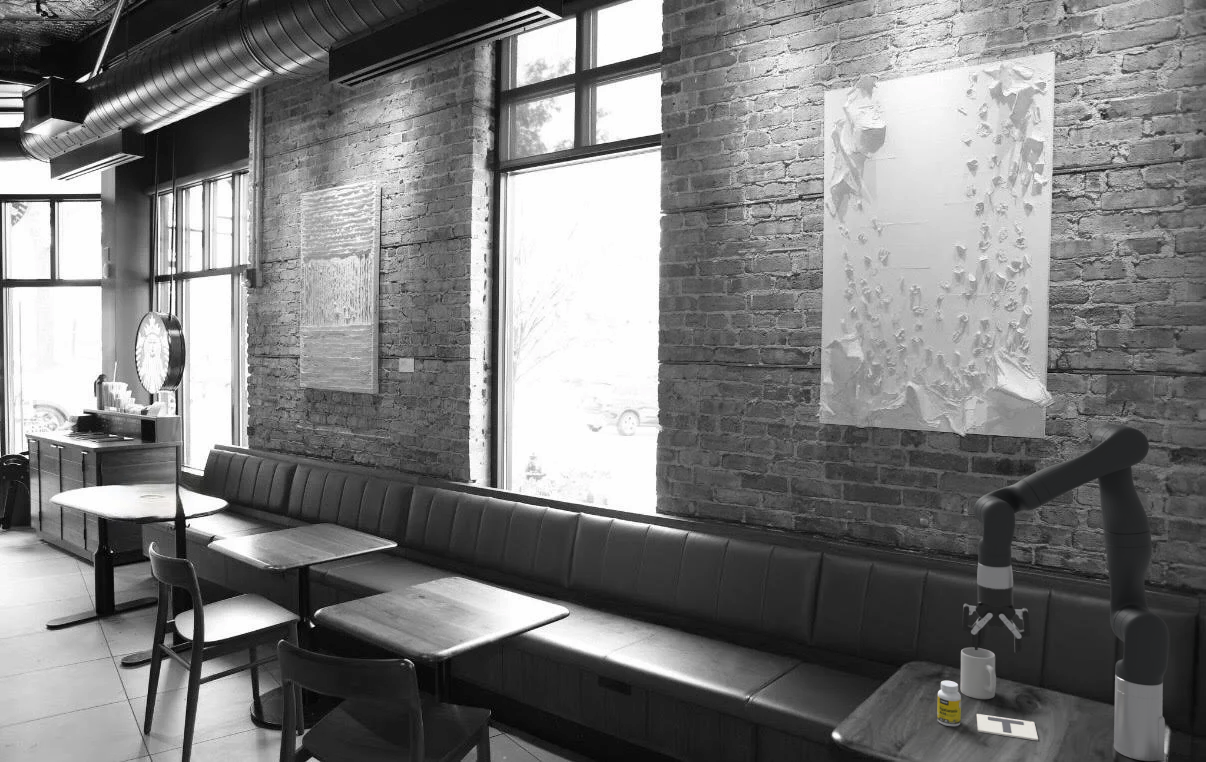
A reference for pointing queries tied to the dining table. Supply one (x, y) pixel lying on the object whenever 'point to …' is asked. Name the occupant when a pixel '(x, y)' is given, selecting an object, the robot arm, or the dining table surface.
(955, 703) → the supplement bottle
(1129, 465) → the robot arm
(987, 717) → the letter card
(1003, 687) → the dining table surface
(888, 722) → the dining table surface
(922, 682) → the dining table surface
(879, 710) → the dining table surface
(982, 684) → the mug
